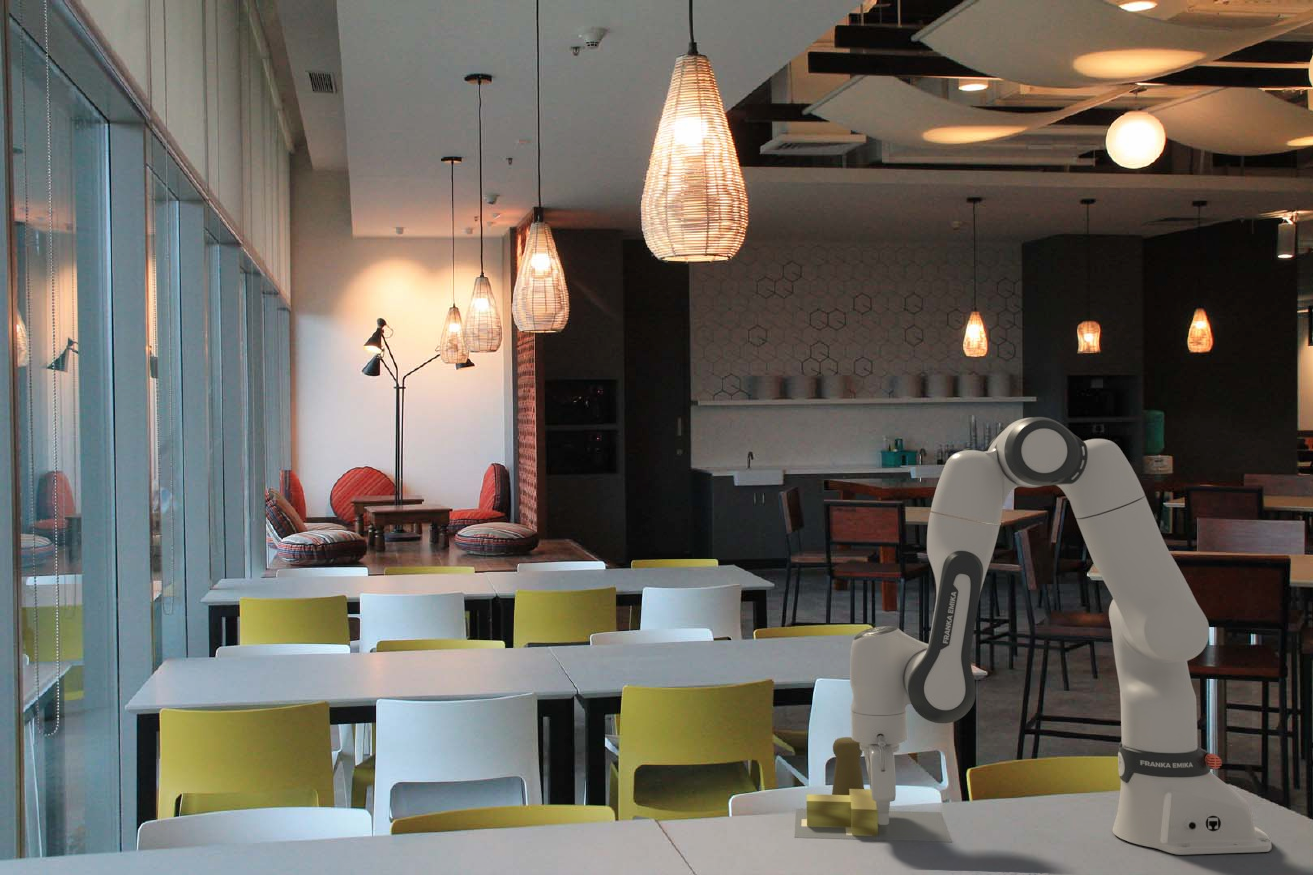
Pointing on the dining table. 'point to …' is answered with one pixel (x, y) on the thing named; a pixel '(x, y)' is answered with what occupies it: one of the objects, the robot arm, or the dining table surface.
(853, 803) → the t block
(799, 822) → the board
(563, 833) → the dining table surface
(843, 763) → the cork
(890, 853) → the dining table surface
